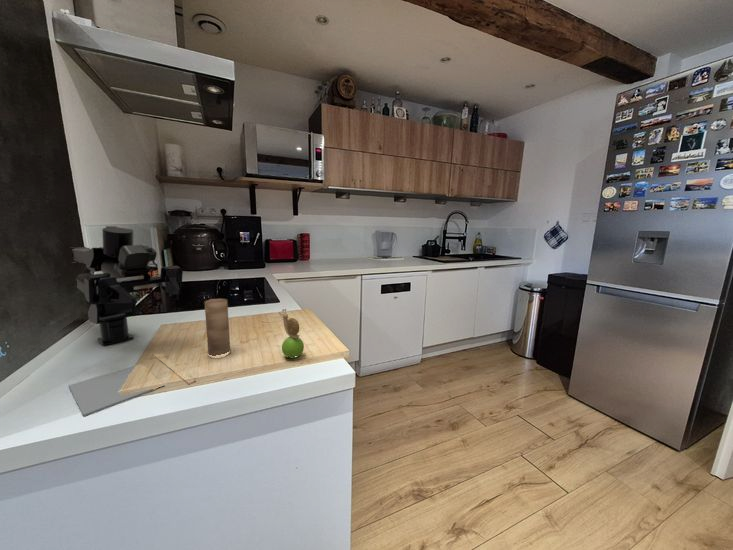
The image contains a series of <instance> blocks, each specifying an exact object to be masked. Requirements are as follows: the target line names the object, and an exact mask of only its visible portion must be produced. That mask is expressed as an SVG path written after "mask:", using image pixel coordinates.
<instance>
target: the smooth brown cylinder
mask: <svg viewBox="0 0 733 550" xmlns="http://www.w3.org/2000/svg"><path fill="white" fill-rule="evenodd" d="M203 304H204V313H205V324H206V325H205V328H206V329H205V330H206V340H207V353H208V354H209V355H212V356H216V355H221V354H225V353H227V352H229V351H230V352H231V341H230V323H229V308H228V307H229V304H228V299H226V298H212V299H208V300H205V301H204V303H203ZM208 354H207V355H208Z"/></svg>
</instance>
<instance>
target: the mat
mask: <svg viewBox="0 0 733 550" xmlns="http://www.w3.org/2000/svg"><path fill="white" fill-rule="evenodd" d="M135 365H136V364H134V365H131V366H128V367H124V368H121V369H117V370H115V371H111V372H107V373H105V374H101V375H98V376H94V377H91V378H88V379H85V380H81V381H78V382H75V383H72V384H69V385H68V389H69V391H70V392H71V395H72V397H73V399H74V401H75V402H76V404H77V406H78V409H79V411H80V412H81V415H82V417H83V418H84V417H88V416H91V415H93V414H95V413H98V412H101V411H103V410H106V409H108V408H111V407H114V406H116V405H118V404H122V403H125V402H127V401H129V400H133V399H135V398H138V397H140V396H144V395H145V394H148V393H151V392H154V391H155V390H153V389H150V390H144V391H140V392H135V393H132V394H128V395H124V396H120V395H119V394H118V391H119V389H120V388H121V387H122V385H123V384H124V383H125V381H126V379H127V378H128V375H129V374H130V373H131V372H132V370H133V369H134V367H135Z"/></svg>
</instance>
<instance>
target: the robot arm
mask: <svg viewBox="0 0 733 550" xmlns="http://www.w3.org/2000/svg"><path fill="white" fill-rule="evenodd" d="M73 248H74V249H72V256H73V261H72V262H74V263H76V262H79V263H83V264H86V266H85V267H84V269H83V270H82V271H81V273H80V274H79V275H78V276H76V281H77V287H76V288H77V289H78V290H79V291H81V292H82V294H84V298H85V300H86V301H87V302H88V303H89V304H90V306H89V309H88V311H87V317H88V320H89V322H91V323H92V324H95V325H99V331H100V337H97V341H98V342H99V343H100V344H101V345H102V346H110V345H113V344H116V343H117V344H118V343H121V342H126V341H130V340H133V339H134V336H133V335H132V334H131V333H129V325H128V318H129V317H135V316H136V310H137V309H136V308H137V300H136V299H135V296H134V295H133V294H132V293H137V292H144V291H148V290H149V289H150V288H156V287H160V288H161V289H162V290H163V291H165V293H167V294H173V295H180V293H181V288H182V287H183V272H184V269H183V268H181V267H180V266H179V265H170V266H169V265H168V266H162V267H161V268H160V275H159V276H158V275H157V276H152V277H151V275H150V274H149V273H152V272H151V267H150V266H149V263H150V262H153V261H154V262H155V260H156V258H157V255H158V254H157V250H155V248H153V247H149V245H142V244H134V229H132V228H126V227H120V226H119V227H118V226H116V225H115V226H109V225H107V226H105V227H104V228H102V246H101V247H91V248H89V247H86V246H79V247H78V246H77V247H76V248H75V247H73ZM96 272H97V273H96ZM98 272H102V273H98Z"/></svg>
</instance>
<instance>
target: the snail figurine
mask: <svg viewBox="0 0 733 550" xmlns="http://www.w3.org/2000/svg"><path fill="white" fill-rule="evenodd" d="M281 311H282V312H284V311H285V312H284V313H282V318H283V326H284V331H285V332H286V334H287V335H288V337H286V338H285V339H284V340H283V342H282V344H281V351H282V353H283V355H284V356H285V357H286V356H288V357H295V356H298V357H299V356H300V354H301V355H302V353H303V352H304V349H305V346H304V345H305V344H304V341H303V340H302V338H300V335H299V333H300V323H299V321H298V320H297V319H296V318H294V317H290V318H289V314H287V312H286V311H287V308H284V309H283V308H282V310H281ZM288 357H287V358H288Z"/></svg>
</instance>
